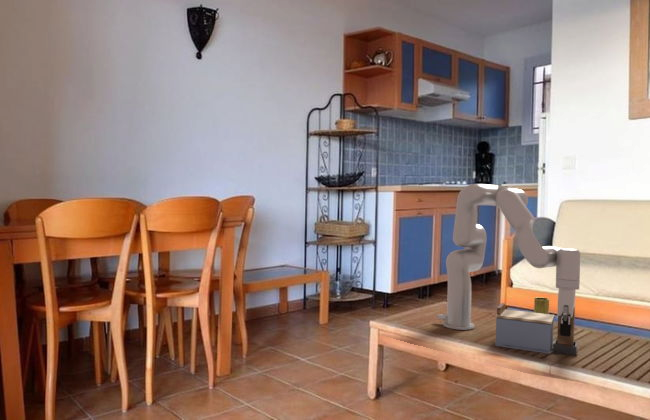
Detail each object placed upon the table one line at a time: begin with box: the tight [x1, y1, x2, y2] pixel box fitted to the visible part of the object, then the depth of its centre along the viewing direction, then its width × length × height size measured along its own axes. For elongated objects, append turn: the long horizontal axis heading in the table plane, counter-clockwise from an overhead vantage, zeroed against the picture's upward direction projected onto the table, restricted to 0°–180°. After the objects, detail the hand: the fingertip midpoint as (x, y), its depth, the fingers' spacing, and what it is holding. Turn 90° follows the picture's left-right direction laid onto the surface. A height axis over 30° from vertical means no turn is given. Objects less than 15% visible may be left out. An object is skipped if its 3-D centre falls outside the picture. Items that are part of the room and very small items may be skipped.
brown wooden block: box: [556, 306, 576, 346], centre depth 181 cm, size 5×5×16 cm
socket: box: [552, 338, 578, 357], centre depth 181 cm, size 7×7×3 cm
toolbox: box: [495, 317, 555, 355], centre depth 188 cm, size 18×12×10 cm, turn 62°
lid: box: [494, 302, 556, 324], centre depth 188 cm, size 19×13×3 cm
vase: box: [533, 296, 550, 314], centre depth 204 cm, size 6×6×14 cm
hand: (566, 332), depth 181 cm, fingers open, 9 cm apart
